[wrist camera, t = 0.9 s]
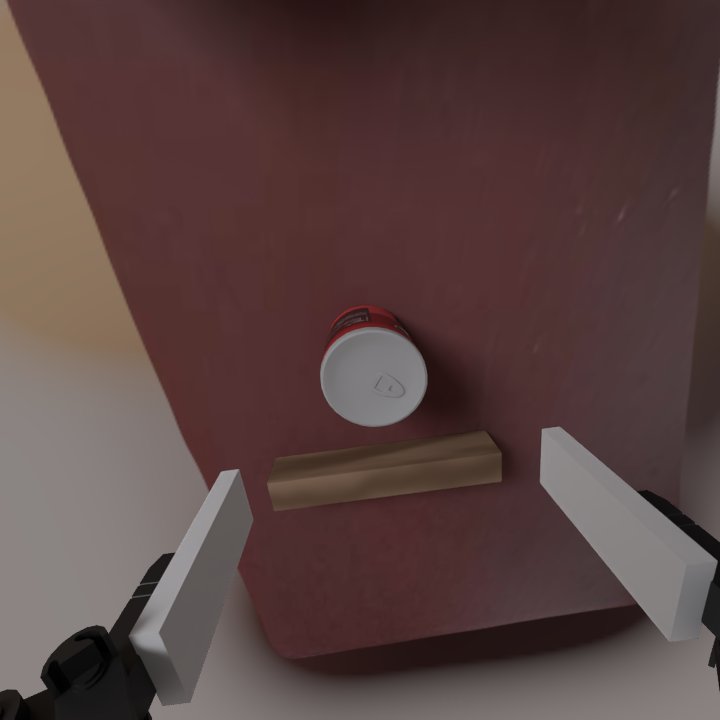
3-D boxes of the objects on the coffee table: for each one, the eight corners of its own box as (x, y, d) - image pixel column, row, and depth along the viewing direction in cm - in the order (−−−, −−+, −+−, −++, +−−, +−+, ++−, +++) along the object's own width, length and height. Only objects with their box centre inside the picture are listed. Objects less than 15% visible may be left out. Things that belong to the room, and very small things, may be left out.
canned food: (396, 381, 37) (415, 435, 27) (322, 369, 36) (311, 419, 26) (413, 311, 35) (441, 340, 24) (334, 296, 34) (328, 319, 23)
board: (275, 457, 39) (267, 483, 35) (484, 430, 39) (501, 452, 35) (282, 483, 41) (274, 511, 36) (485, 456, 40) (501, 481, 36)
